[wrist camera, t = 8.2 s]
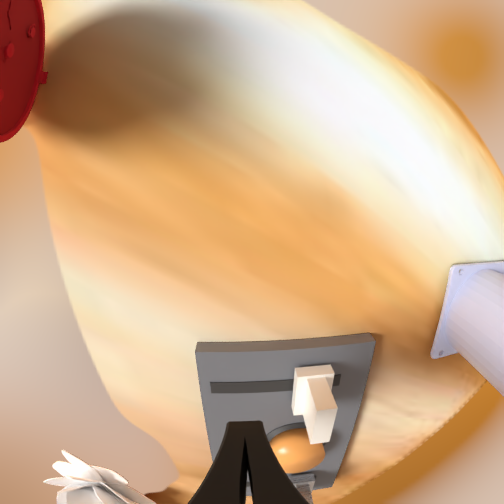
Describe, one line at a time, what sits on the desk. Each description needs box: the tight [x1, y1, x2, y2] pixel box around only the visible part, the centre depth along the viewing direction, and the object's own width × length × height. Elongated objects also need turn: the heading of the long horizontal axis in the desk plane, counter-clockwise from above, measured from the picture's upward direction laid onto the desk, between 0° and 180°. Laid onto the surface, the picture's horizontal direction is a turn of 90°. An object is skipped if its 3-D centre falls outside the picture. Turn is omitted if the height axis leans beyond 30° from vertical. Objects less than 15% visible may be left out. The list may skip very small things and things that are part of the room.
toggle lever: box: [291, 364, 338, 444], centre depth 16 cm, size 2×4×4 cm, turn 1°
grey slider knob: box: [288, 473, 315, 504], centre depth 20 cm, size 2×4×4 cm, turn 1°
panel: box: [195, 333, 376, 496], centre depth 21 cm, size 12×20×1 cm, turn 1°
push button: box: [269, 428, 325, 473], centre depth 20 cm, size 4×4×2 cm
